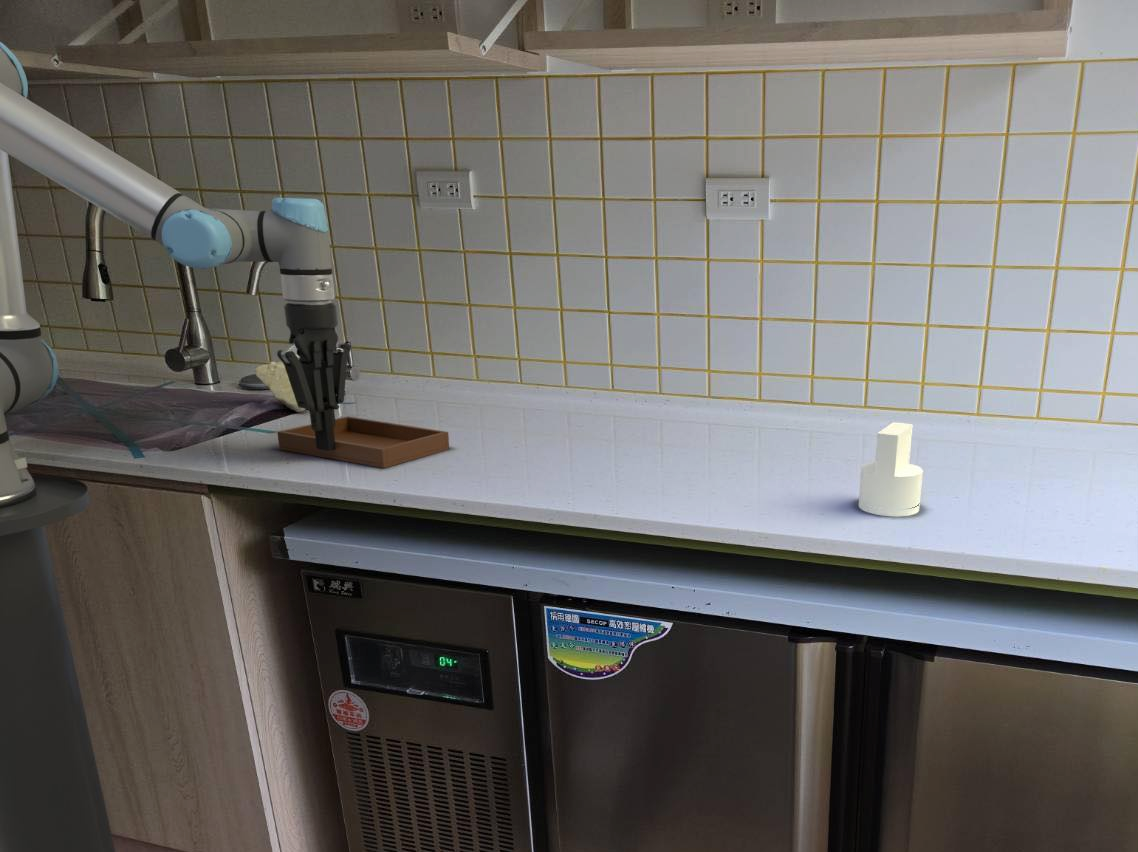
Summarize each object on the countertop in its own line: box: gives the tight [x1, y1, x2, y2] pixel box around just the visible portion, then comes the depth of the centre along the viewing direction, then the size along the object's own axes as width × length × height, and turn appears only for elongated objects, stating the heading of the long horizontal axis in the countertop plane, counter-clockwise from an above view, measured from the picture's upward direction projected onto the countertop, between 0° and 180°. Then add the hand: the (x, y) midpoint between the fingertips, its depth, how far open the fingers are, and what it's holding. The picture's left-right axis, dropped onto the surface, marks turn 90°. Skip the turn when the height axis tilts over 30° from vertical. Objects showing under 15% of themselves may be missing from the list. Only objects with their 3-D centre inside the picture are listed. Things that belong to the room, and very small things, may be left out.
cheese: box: [254, 360, 307, 413], centre depth 200 cm, size 15×7×15 cm
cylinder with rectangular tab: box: [858, 421, 924, 518], centre depth 144 cm, size 9×9×12 cm
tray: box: [276, 415, 450, 469], centre depth 169 cm, size 16×24×3 cm, turn 65°
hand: (326, 448), depth 161 cm, fingers closed
